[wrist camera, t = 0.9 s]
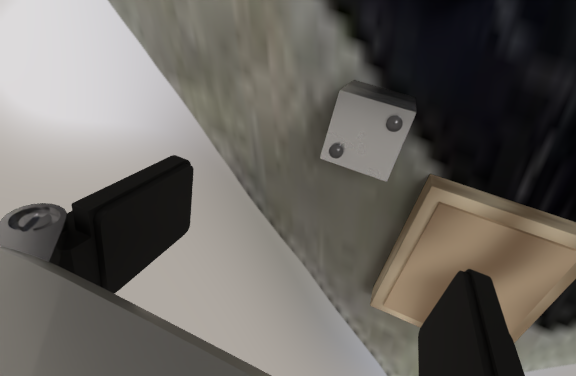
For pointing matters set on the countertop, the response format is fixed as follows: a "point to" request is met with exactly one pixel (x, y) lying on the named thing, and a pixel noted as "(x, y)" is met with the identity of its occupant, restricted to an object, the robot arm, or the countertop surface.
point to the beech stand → (477, 254)
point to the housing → (368, 129)
